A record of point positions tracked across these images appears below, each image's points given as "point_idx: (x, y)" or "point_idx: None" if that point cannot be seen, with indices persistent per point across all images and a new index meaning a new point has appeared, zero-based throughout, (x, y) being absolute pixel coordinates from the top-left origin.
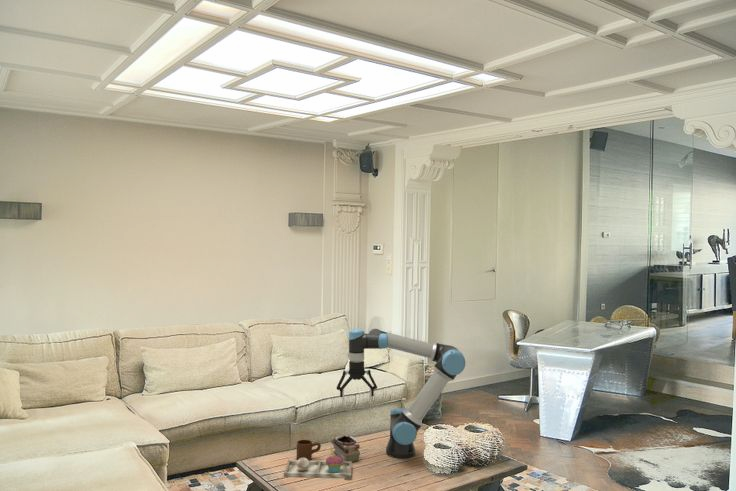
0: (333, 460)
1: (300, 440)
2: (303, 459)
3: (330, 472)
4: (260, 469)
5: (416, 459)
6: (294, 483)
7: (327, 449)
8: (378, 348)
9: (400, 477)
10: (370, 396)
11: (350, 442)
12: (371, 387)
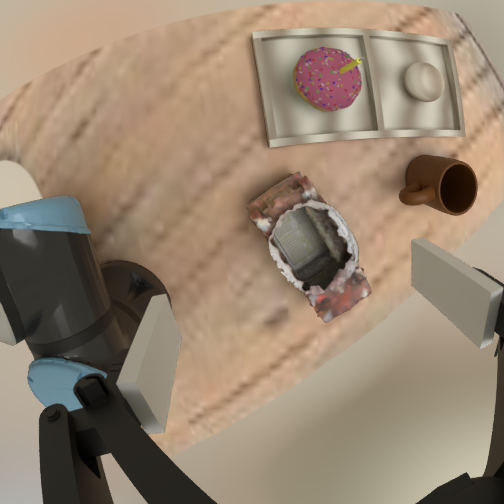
0: (331, 52)
1: (470, 205)
2: (431, 71)
3: None
4: (500, 106)
5: None
6: (408, 10)
7: None
8: None
9: (94, 100)
10: (146, 333)
11: (291, 210)
12: (105, 417)
